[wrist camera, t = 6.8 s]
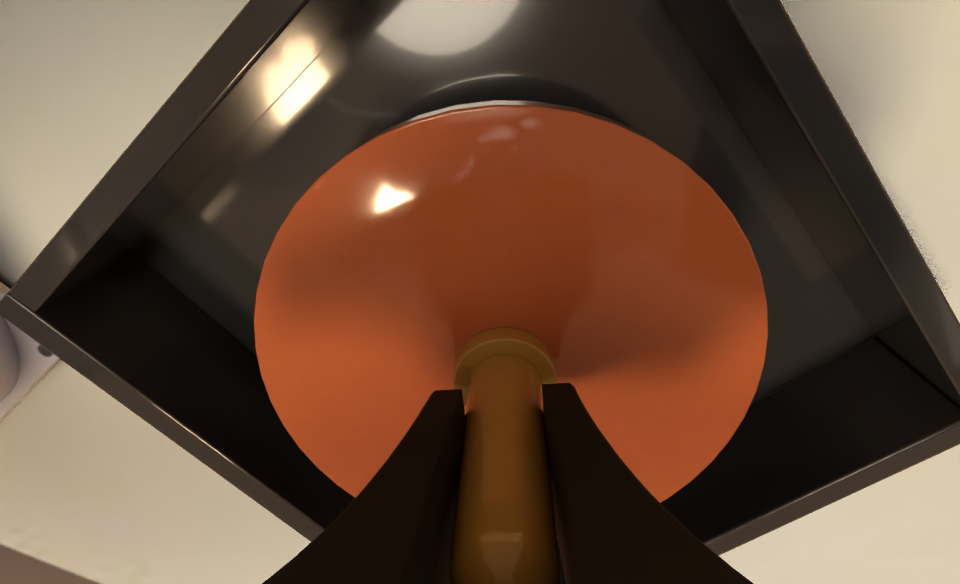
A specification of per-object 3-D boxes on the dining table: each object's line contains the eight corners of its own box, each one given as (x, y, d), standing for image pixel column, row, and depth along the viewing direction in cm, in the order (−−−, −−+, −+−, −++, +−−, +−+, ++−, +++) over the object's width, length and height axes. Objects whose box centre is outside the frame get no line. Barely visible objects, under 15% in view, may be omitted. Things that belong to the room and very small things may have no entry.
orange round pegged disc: (480, 573, 19) (466, 876, 12) (170, 322, 15) (-111, 567, 8) (842, 380, 14) (1129, 677, 8) (548, -44, 10) (624, -180, 4)
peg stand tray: (485, 553, 24) (481, 666, 20) (113, 244, 18) (-9, 310, 14) (894, 329, 18) (1014, 420, 14) (545, -240, 12) (567, -387, 8)
